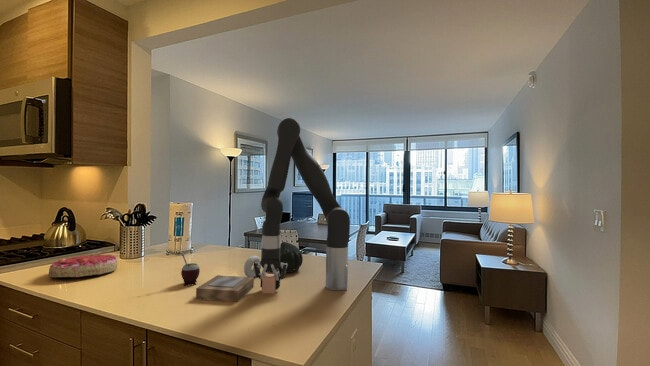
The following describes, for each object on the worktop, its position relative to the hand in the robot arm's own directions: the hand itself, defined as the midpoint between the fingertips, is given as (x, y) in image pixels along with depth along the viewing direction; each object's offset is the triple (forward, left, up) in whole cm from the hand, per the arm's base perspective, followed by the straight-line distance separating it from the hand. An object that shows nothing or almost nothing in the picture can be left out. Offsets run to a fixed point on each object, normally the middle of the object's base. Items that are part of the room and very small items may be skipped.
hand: (270, 288), depth 118 cm
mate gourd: (+36, -2, -1) cm, 36 cm away
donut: (+13, -15, -1) cm, 20 cm away
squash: (0, -29, -1) cm, 29 cm away
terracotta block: (0, 0, -1) cm, 1 cm away
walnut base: (+16, +5, -1) cm, 17 cm away
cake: (+91, -7, -1) cm, 91 cm away
